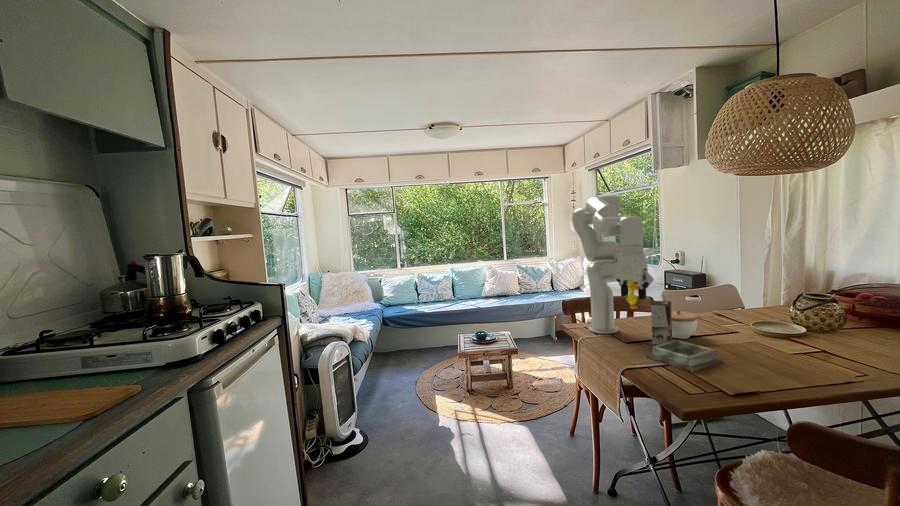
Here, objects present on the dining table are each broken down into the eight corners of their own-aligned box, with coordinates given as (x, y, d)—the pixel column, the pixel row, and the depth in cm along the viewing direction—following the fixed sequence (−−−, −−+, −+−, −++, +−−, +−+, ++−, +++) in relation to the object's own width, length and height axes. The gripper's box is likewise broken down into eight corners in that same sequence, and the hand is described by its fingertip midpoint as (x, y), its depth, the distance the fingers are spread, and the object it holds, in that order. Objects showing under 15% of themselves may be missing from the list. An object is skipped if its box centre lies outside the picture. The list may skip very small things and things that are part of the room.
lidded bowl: (694, 342, 137) (694, 315, 136) (658, 337, 145) (657, 311, 145) (700, 334, 146) (699, 308, 145) (665, 330, 154) (664, 305, 154)
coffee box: (670, 346, 134) (669, 305, 133) (651, 344, 138) (650, 304, 137) (673, 340, 141) (671, 300, 140) (654, 337, 145) (653, 299, 144)
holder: (646, 357, 126) (645, 346, 125) (675, 348, 132) (674, 338, 132) (692, 372, 111) (692, 360, 111) (722, 361, 117) (722, 350, 117)
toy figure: (644, 309, 127) (643, 277, 126) (636, 310, 126) (635, 278, 125) (631, 306, 134) (630, 275, 133) (623, 307, 133) (621, 276, 132)
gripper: (605, 250, 135) (606, 295, 136) (646, 251, 119) (648, 303, 120) (619, 248, 138) (620, 292, 139) (661, 249, 122) (662, 299, 123)
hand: (633, 297), depth 130 cm, fingers closed on toy figure, 6 cm apart
